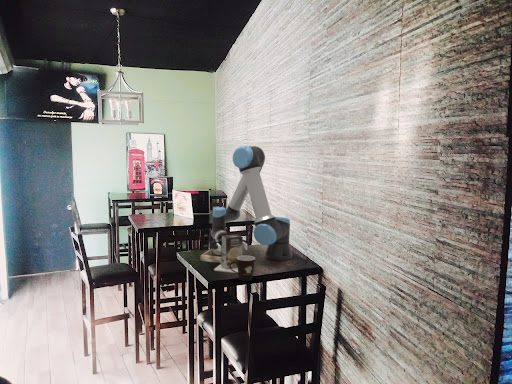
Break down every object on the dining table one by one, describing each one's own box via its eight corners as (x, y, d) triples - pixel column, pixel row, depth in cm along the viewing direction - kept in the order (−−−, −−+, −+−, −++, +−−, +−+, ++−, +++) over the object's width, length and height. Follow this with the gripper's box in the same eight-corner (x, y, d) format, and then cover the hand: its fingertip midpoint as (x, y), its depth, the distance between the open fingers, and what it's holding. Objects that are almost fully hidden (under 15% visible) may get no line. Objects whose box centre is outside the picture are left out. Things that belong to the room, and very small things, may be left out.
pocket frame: (235, 256, 218) (235, 251, 218) (226, 263, 204) (226, 257, 204) (211, 253, 223) (211, 248, 222) (200, 260, 208) (200, 255, 208)
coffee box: (225, 269, 190) (226, 238, 189) (220, 266, 196) (221, 235, 194) (242, 267, 195) (243, 236, 193) (237, 264, 200) (237, 233, 199)
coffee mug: (254, 276, 184) (255, 255, 183) (254, 282, 176) (254, 260, 175) (230, 275, 185) (231, 255, 184) (229, 281, 176) (229, 260, 175)
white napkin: (248, 266, 199) (248, 265, 199) (240, 273, 188) (240, 271, 188) (222, 263, 203) (222, 262, 203) (214, 270, 192) (214, 268, 192)
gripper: (244, 243, 216) (257, 253, 196) (200, 246, 207) (208, 257, 187) (244, 230, 215) (257, 239, 195) (200, 232, 207) (209, 242, 187)
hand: (233, 248), depth 191 cm, fingers open, 13 cm apart
